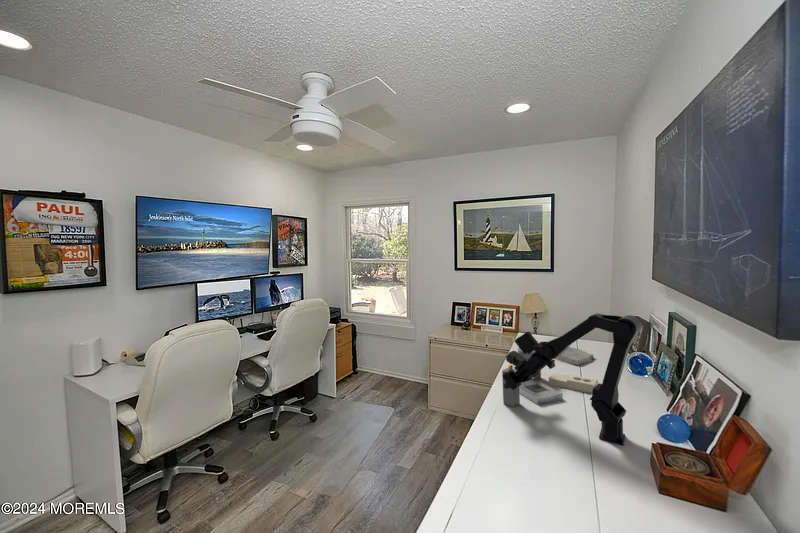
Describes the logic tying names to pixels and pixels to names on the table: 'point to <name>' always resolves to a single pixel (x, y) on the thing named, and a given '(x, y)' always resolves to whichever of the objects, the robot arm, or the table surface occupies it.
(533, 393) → the socket plate
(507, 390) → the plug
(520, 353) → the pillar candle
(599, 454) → the table surface
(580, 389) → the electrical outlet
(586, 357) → the fossil
